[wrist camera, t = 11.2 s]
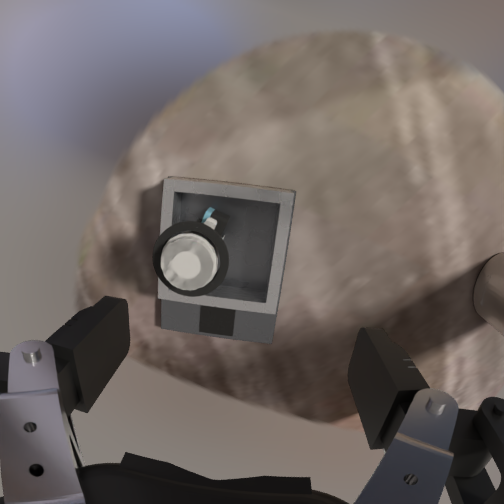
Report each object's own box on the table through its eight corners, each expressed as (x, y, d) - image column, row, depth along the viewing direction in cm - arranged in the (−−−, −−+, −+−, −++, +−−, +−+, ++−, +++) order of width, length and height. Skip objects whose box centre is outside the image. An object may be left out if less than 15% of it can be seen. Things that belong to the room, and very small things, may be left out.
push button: (217, 279, 32) (201, 329, 22) (168, 257, 31) (133, 297, 21) (246, 219, 30) (240, 246, 20) (194, 195, 29) (164, 211, 20)
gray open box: (294, 190, 30) (300, 194, 26) (271, 338, 35) (272, 359, 30) (171, 176, 30) (158, 178, 26) (164, 323, 34) (153, 342, 30)
